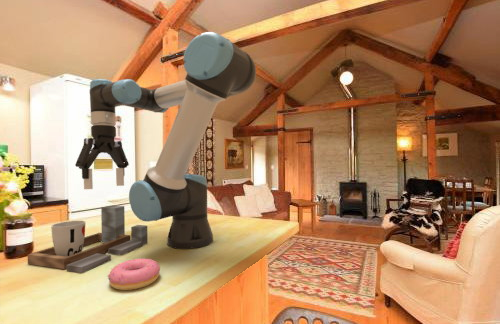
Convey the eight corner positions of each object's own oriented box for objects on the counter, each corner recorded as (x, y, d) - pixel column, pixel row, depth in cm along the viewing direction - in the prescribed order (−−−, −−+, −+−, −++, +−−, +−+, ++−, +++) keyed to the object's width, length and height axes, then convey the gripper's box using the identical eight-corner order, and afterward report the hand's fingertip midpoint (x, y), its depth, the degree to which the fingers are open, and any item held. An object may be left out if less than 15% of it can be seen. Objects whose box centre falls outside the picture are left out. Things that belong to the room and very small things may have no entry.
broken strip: (148, 243, 89) (148, 225, 89) (81, 273, 65) (81, 249, 65) (136, 242, 91) (136, 224, 91) (66, 271, 67) (66, 247, 67)
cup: (68, 264, 71) (68, 227, 71) (44, 262, 73) (43, 226, 73) (92, 254, 79) (92, 221, 79) (69, 252, 81) (69, 220, 81)
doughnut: (165, 284, 59) (165, 266, 59) (110, 298, 53) (110, 278, 53) (154, 268, 68) (154, 252, 68) (106, 279, 62) (105, 261, 62)
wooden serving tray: (133, 241, 91) (133, 206, 91) (64, 269, 68) (63, 222, 68) (102, 238, 95) (102, 205, 95) (27, 263, 72) (27, 219, 72)
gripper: (121, 130, 104) (123, 184, 104) (60, 121, 80) (62, 191, 80) (137, 129, 102) (139, 184, 102) (79, 119, 78) (81, 190, 78)
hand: (105, 187), depth 91 cm, fingers open, 13 cm apart
